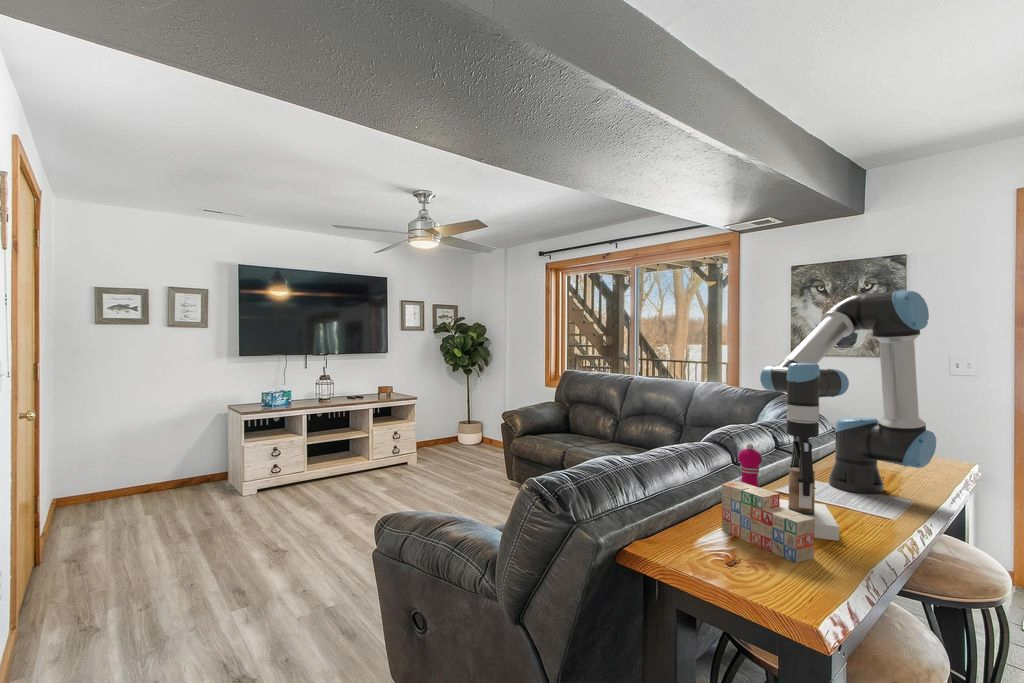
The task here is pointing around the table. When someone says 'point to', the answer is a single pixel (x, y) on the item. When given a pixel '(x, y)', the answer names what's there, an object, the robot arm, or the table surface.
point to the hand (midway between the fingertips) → (801, 500)
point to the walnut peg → (794, 492)
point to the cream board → (821, 521)
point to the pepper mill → (749, 465)
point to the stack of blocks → (766, 521)
